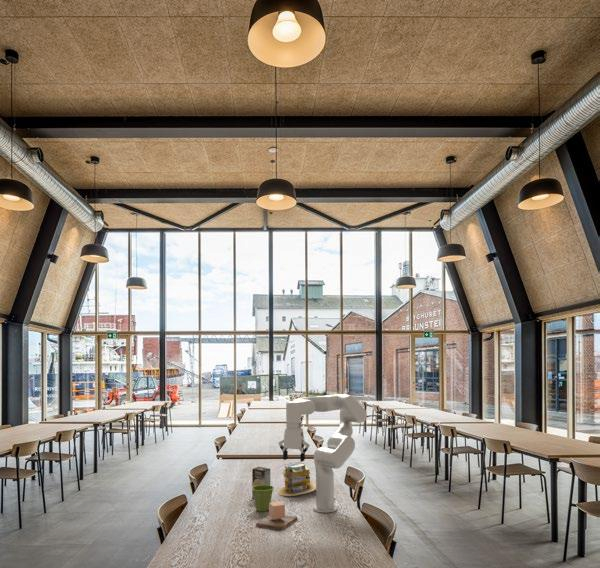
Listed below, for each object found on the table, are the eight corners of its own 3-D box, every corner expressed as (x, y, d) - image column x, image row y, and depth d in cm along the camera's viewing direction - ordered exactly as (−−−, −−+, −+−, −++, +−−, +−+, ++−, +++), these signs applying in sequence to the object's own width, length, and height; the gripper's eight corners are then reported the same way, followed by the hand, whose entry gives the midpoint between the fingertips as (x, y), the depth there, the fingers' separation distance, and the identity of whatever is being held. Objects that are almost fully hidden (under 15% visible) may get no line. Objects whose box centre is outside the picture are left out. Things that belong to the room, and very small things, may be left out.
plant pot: (277, 511, 261) (277, 488, 263) (255, 514, 257) (255, 491, 258) (270, 505, 272) (270, 483, 274) (249, 507, 268) (249, 485, 269)
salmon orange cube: (269, 515, 246) (269, 502, 246) (280, 513, 248) (280, 501, 249) (273, 519, 240) (273, 506, 241) (284, 517, 243) (284, 504, 243)
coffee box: (251, 497, 286) (251, 468, 288) (258, 495, 291) (258, 466, 293) (264, 500, 281) (264, 470, 283) (271, 497, 286) (270, 468, 288)
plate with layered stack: (275, 497, 286) (274, 467, 288) (281, 485, 310) (281, 458, 312) (317, 498, 283) (317, 468, 285) (320, 486, 308) (320, 458, 310)
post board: (272, 516, 254) (272, 499, 255) (297, 520, 248) (297, 503, 249) (256, 526, 240) (256, 508, 241) (281, 530, 234) (281, 512, 235)
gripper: (312, 425, 255) (312, 460, 253) (282, 423, 263) (282, 457, 260) (305, 427, 248) (305, 463, 246) (275, 425, 256) (275, 460, 254)
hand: (293, 460), depth 253 cm, fingers open, 9 cm apart
